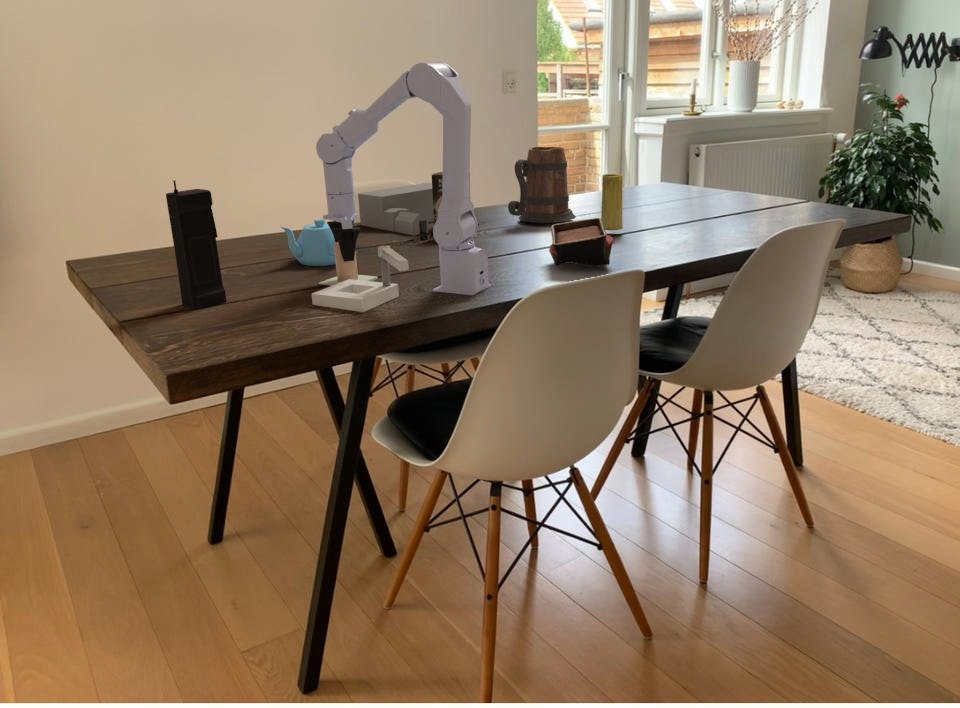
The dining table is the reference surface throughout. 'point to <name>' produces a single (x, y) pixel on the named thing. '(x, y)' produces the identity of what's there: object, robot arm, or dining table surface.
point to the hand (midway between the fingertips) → (346, 257)
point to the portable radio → (195, 247)
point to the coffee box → (438, 192)
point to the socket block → (358, 293)
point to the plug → (344, 266)
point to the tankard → (542, 187)
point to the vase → (612, 201)
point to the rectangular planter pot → (581, 243)
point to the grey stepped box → (398, 209)
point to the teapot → (313, 244)
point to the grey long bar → (393, 258)
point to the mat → (334, 281)
